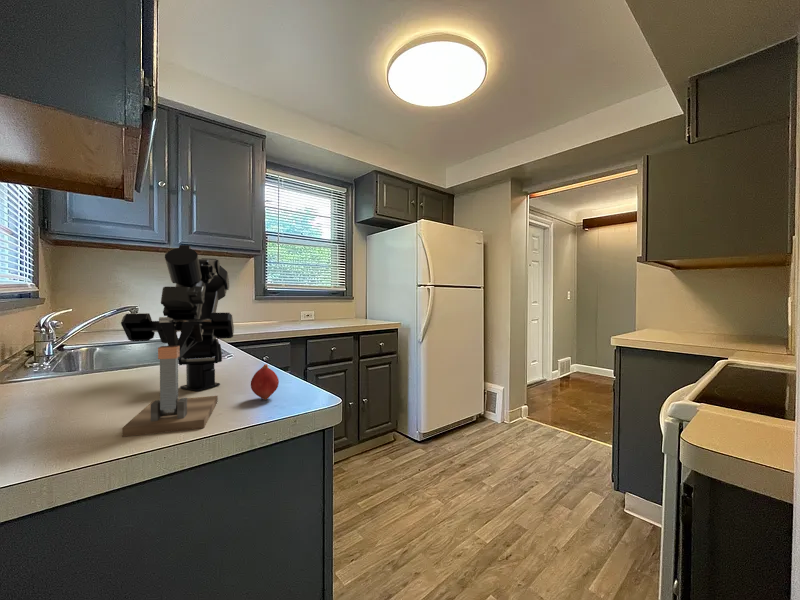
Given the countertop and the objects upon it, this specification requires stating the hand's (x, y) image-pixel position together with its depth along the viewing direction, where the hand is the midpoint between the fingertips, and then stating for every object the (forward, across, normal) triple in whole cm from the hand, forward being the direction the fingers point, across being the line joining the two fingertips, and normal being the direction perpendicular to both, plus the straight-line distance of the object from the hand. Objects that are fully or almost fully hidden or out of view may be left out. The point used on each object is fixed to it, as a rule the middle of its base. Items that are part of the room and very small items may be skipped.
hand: (173, 360), depth 65 cm
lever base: (+7, 0, +9) cm, 11 cm away
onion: (+2, +16, +14) cm, 21 cm away
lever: (+8, 0, +4) cm, 9 cm away
